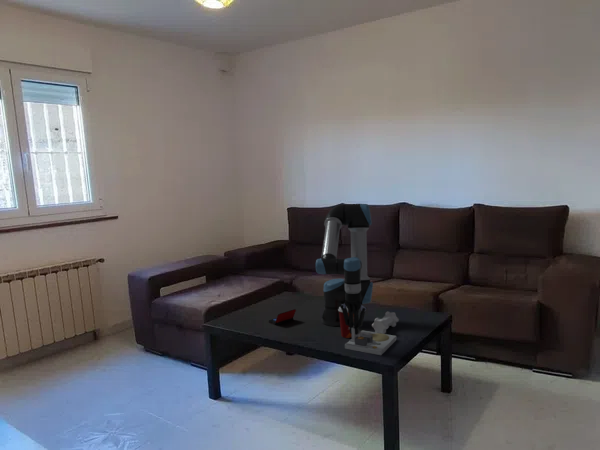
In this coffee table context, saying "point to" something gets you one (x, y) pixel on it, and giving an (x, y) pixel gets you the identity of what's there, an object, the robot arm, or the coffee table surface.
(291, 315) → the handheld game console
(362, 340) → the tagged breaker
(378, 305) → the coffee table surface
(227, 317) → the coffee table surface
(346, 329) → the coffee cup
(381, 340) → the panel
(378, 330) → the bone shaped toy
